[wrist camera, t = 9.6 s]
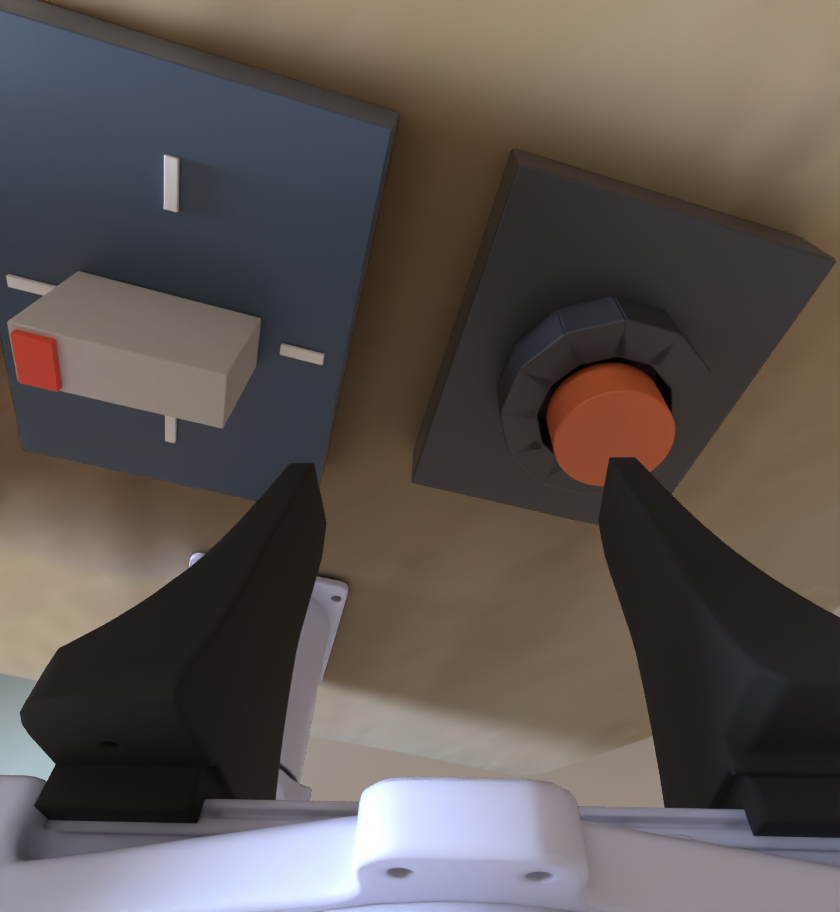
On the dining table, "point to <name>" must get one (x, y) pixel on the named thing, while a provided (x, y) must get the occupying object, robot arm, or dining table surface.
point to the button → (608, 421)
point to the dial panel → (186, 230)
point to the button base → (601, 326)
